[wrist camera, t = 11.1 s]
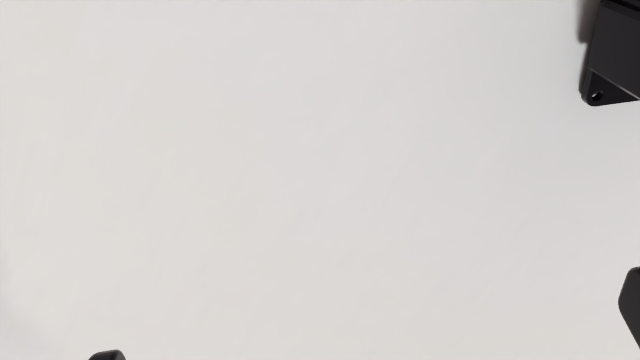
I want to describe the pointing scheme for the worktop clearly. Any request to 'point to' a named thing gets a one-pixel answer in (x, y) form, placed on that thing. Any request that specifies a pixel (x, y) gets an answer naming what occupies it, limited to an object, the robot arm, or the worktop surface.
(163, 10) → the worktop surface
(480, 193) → the worktop surface
